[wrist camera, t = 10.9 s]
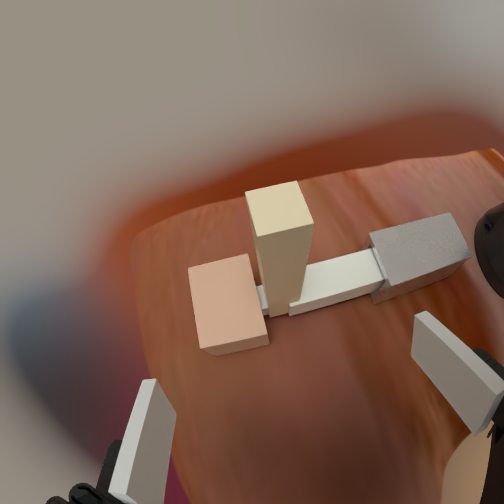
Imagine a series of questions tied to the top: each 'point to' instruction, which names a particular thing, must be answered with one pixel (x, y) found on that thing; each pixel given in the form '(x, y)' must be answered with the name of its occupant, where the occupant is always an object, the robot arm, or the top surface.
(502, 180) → the top surface
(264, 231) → the cream pillar on base
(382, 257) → the grey rectangular block
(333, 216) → the top surface
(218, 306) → the socket block
